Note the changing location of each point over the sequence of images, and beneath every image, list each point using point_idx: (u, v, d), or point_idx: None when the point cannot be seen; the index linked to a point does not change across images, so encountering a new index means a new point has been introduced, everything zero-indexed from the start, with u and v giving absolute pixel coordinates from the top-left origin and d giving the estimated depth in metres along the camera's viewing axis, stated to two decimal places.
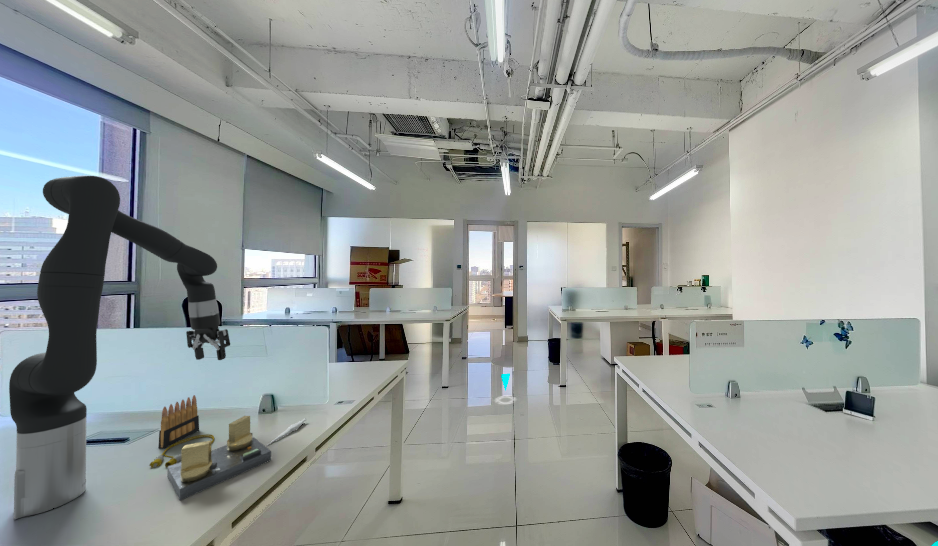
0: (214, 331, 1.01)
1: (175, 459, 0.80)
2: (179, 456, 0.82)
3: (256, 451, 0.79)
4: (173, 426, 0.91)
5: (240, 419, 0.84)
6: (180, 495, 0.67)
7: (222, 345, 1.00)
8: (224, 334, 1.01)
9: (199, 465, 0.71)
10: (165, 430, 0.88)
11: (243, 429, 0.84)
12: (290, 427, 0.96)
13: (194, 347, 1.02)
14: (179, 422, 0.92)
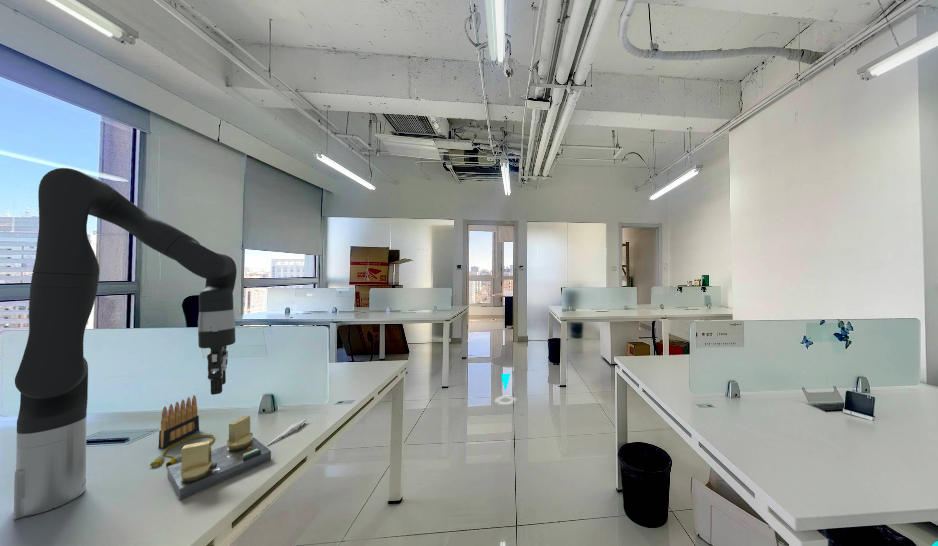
0: (211, 353, 0.75)
1: (176, 459, 0.80)
2: (180, 456, 0.82)
3: (256, 451, 0.79)
4: (173, 426, 0.91)
5: (240, 419, 0.84)
6: (180, 495, 0.67)
7: (208, 375, 0.73)
8: (214, 360, 0.73)
9: (199, 465, 0.71)
10: (165, 430, 0.88)
11: (243, 429, 0.84)
12: (290, 427, 0.96)
13: None
14: (179, 422, 0.92)
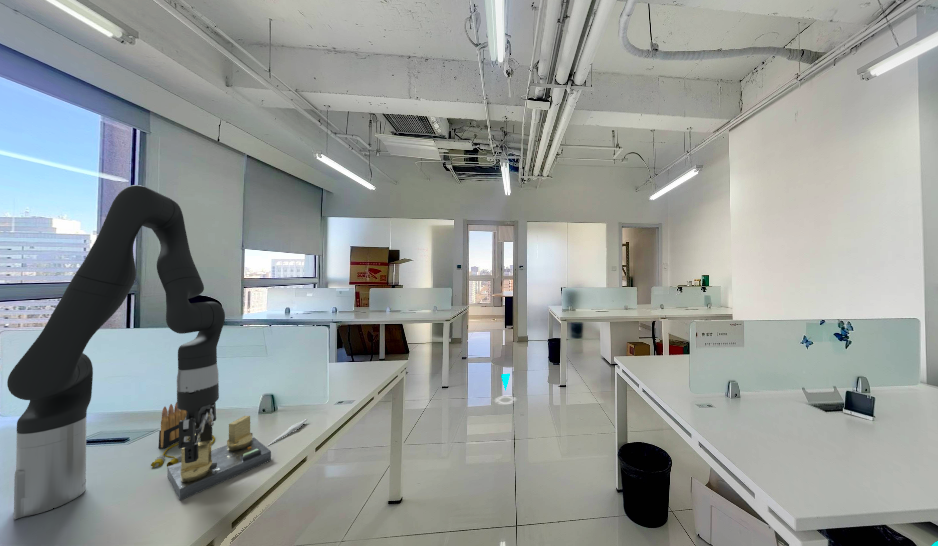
0: (187, 416, 0.68)
1: (177, 459, 0.80)
2: None
3: (256, 451, 0.79)
4: (173, 426, 0.91)
5: (240, 419, 0.84)
6: (180, 495, 0.67)
7: None
8: (185, 427, 0.66)
9: (199, 465, 0.71)
10: (165, 430, 0.88)
11: (243, 429, 0.84)
12: (291, 427, 0.96)
13: None
14: None
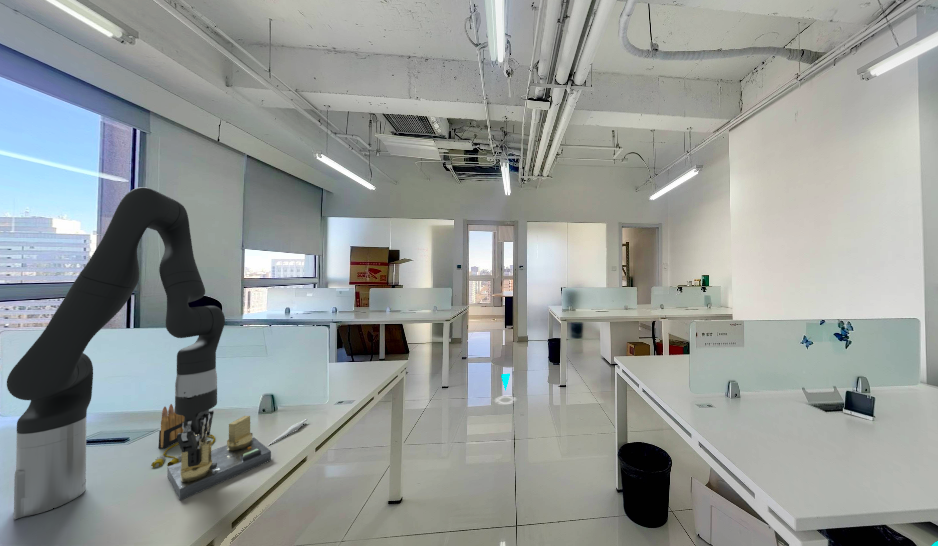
0: (184, 425, 0.68)
1: (177, 459, 0.80)
2: None
3: (256, 451, 0.79)
4: (173, 426, 0.91)
5: (240, 419, 0.84)
6: (180, 495, 0.67)
7: None
8: (184, 440, 0.66)
9: (199, 465, 0.71)
10: (165, 430, 0.88)
11: (243, 429, 0.84)
12: (291, 427, 0.96)
13: None
14: (179, 422, 0.92)
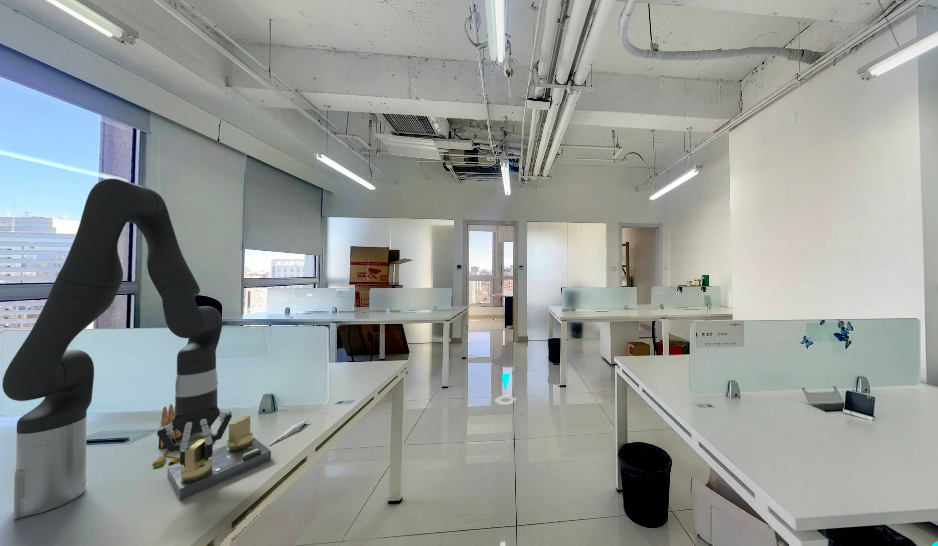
0: (218, 412, 0.74)
1: (178, 459, 0.80)
2: None
3: (256, 451, 0.79)
4: None
5: (240, 419, 0.84)
6: (180, 495, 0.67)
7: (220, 435, 0.73)
8: (229, 419, 0.75)
9: (203, 461, 0.72)
10: None
11: (243, 429, 0.84)
12: (292, 427, 0.96)
13: (185, 447, 0.69)
14: None
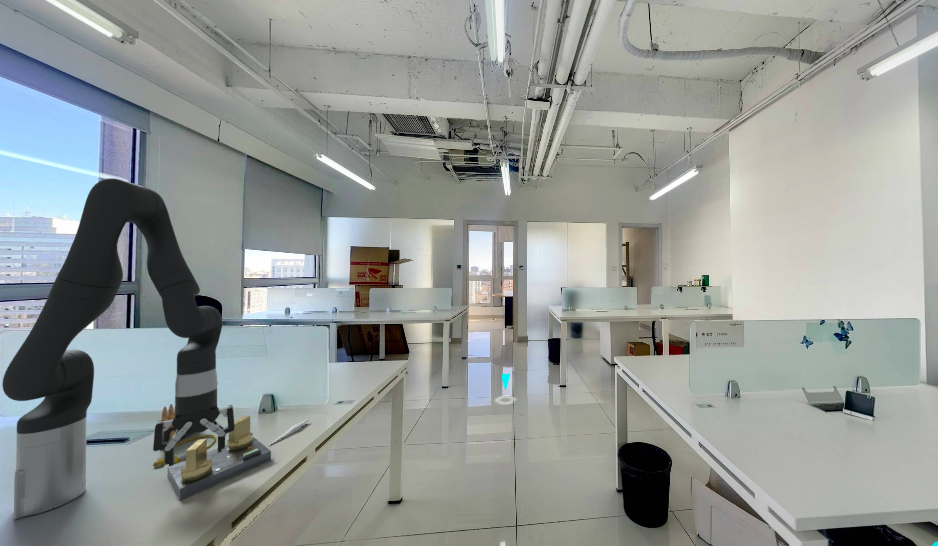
0: (217, 411, 0.73)
1: (179, 459, 0.80)
2: (183, 456, 0.82)
3: (256, 451, 0.79)
4: None
5: (240, 419, 0.84)
6: (180, 495, 0.67)
7: (232, 427, 0.75)
8: None
9: (203, 461, 0.72)
10: None
11: (243, 429, 0.84)
12: (292, 427, 0.96)
13: (170, 446, 0.68)
14: None
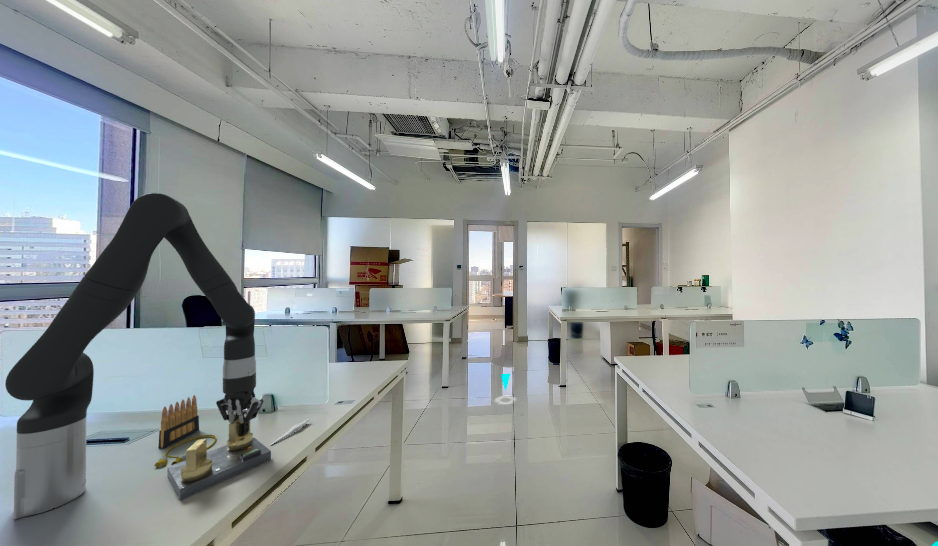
0: (249, 398, 0.83)
1: (181, 458, 0.80)
2: (185, 455, 0.82)
3: (256, 451, 0.79)
4: (173, 426, 0.91)
5: None
6: (180, 495, 0.67)
7: (248, 418, 0.82)
8: (257, 407, 0.83)
9: (203, 461, 0.72)
10: (165, 430, 0.88)
11: None
12: (293, 427, 0.96)
13: (231, 420, 0.83)
14: (179, 422, 0.92)
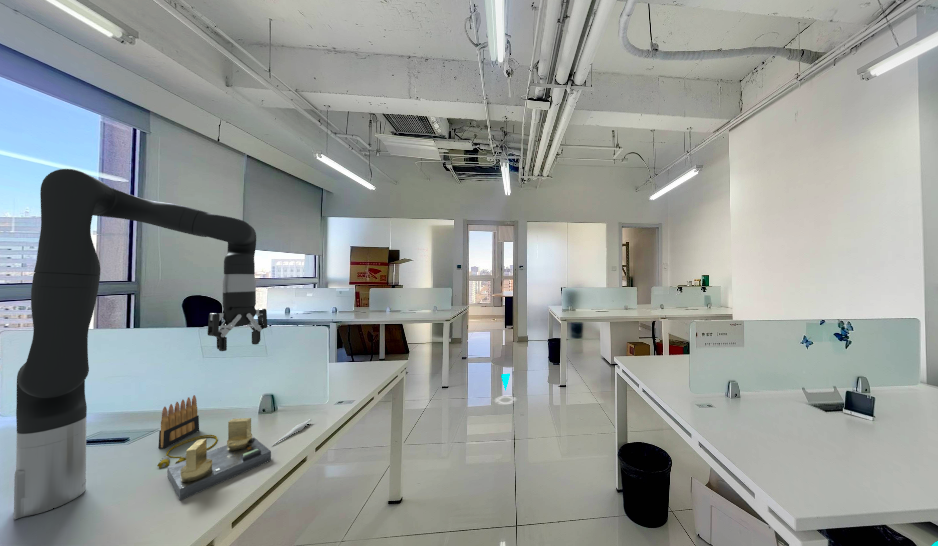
0: (222, 312, 0.82)
1: (185, 458, 0.81)
2: None
3: (256, 451, 0.79)
4: (173, 426, 0.91)
5: (240, 419, 0.84)
6: (180, 495, 0.67)
7: None
8: (211, 319, 0.78)
9: (203, 461, 0.72)
10: (165, 430, 0.88)
11: (238, 431, 0.83)
12: (295, 427, 0.96)
13: None
14: (179, 422, 0.92)
